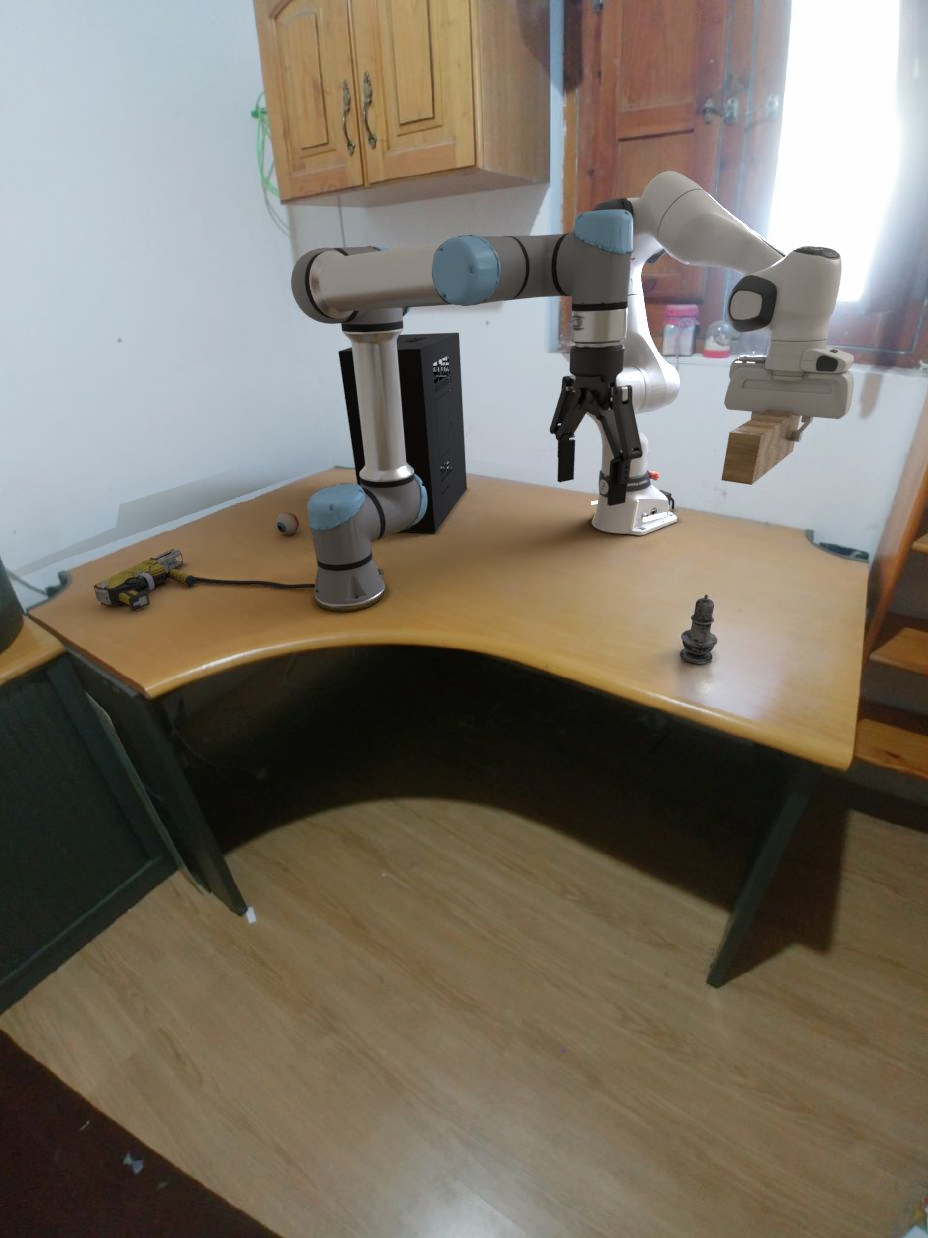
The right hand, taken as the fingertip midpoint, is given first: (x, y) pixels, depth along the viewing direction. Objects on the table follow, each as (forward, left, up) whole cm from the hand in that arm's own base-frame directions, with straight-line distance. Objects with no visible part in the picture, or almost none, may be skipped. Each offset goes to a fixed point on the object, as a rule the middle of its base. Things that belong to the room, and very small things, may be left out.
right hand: (777, 438), depth 110 cm
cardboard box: (+41, -84, -31) cm, 98 cm away
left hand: (+43, +2, -2) cm, 43 cm away
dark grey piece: (+27, +14, -31) cm, 43 cm away
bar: (+8, +4, -3) cm, 9 cm away
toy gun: (+112, -66, -31) cm, 133 cm away
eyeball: (+79, -83, -31) cm, 119 cm away
